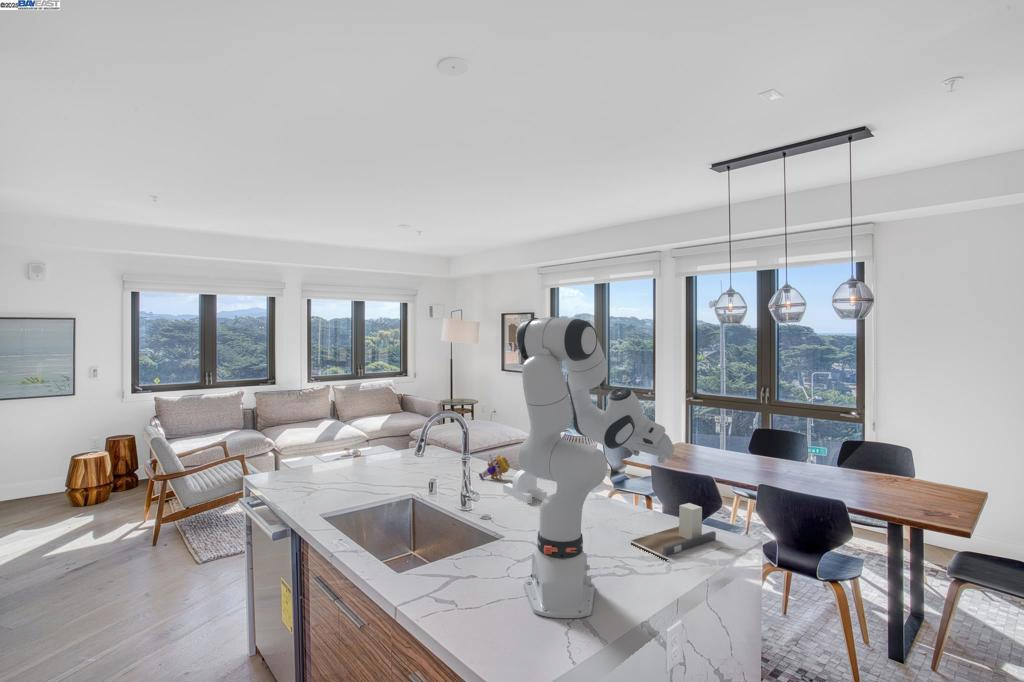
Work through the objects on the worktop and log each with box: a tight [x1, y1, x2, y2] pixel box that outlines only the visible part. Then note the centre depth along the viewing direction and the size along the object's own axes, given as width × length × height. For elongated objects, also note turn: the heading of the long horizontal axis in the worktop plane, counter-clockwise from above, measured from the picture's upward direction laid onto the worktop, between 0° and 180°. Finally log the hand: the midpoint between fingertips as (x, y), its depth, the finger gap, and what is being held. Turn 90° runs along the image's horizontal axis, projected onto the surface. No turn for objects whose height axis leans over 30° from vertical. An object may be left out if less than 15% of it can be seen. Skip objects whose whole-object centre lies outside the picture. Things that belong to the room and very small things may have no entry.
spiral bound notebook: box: [630, 525, 687, 562], centre depth 164 cm, size 14×24×2 cm, turn 123°
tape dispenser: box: [502, 469, 548, 504], centre depth 212 cm, size 18×10×11 cm, turn 33°
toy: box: [478, 454, 511, 482], centre depth 237 cm, size 14×8×15 cm
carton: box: [678, 502, 703, 539], centre depth 167 cm, size 5×5×10 cm
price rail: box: [662, 530, 717, 557], centre depth 158 cm, size 1×24×2 cm, turn 123°
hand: (649, 457), depth 167 cm, fingers open, 8 cm apart
